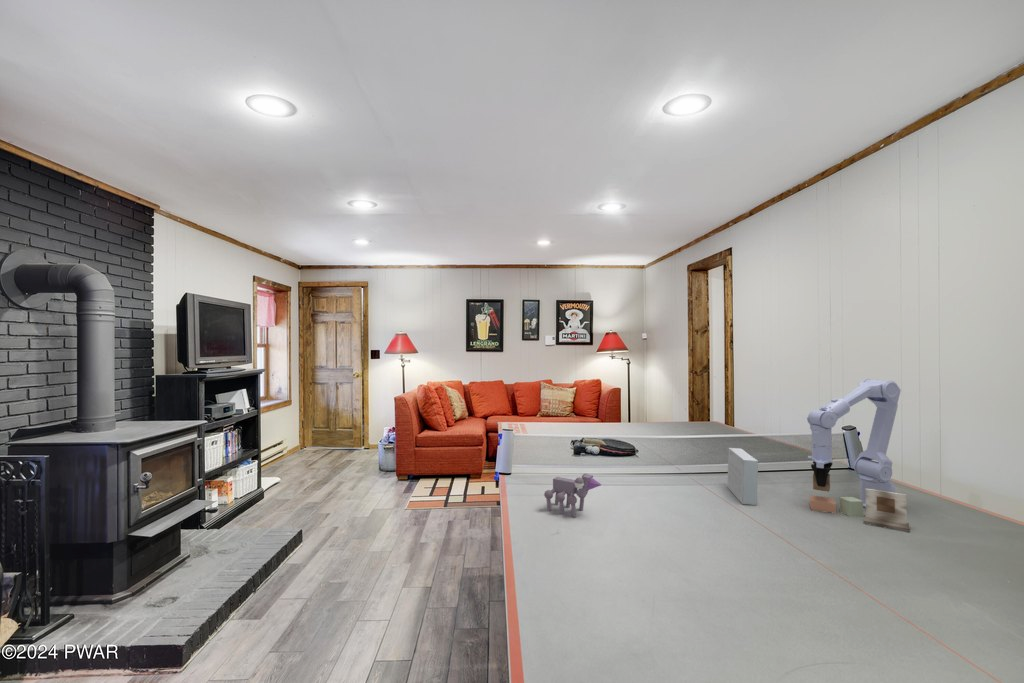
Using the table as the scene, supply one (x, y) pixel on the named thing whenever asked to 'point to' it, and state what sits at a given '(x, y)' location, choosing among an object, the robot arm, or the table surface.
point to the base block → (822, 503)
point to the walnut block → (821, 487)
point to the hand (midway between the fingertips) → (822, 484)
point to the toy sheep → (570, 491)
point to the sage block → (851, 506)
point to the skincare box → (742, 476)
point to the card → (886, 510)
